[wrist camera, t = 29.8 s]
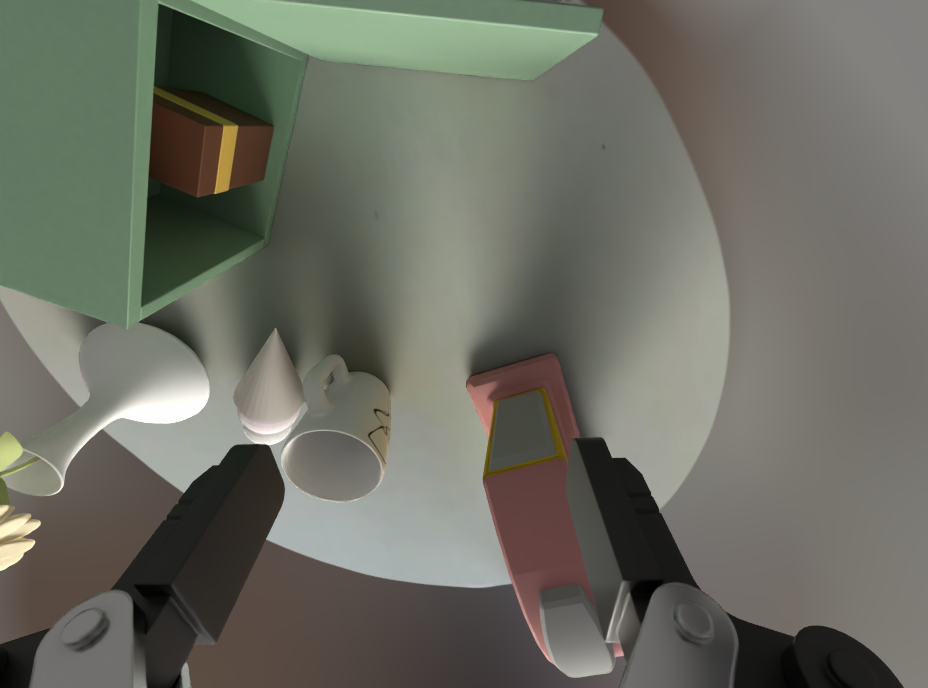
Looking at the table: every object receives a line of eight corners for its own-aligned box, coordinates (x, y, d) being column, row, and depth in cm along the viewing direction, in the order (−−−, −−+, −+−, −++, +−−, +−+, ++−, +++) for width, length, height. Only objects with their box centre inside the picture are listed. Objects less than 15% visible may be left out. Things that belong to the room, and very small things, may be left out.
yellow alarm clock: (592, 480, 47) (677, 718, 28) (517, 498, 48) (551, 734, 30) (547, 326, 37) (633, 535, 18) (455, 354, 38) (446, 574, 20)
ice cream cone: (255, 363, 29) (252, 471, 38) (329, 340, 33) (310, 442, 42) (217, 313, 31) (222, 427, 40) (291, 298, 35) (281, 403, 44)
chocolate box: (275, 125, 28) (207, 124, 21) (265, 181, 30) (198, 199, 22) (201, 90, 27) (101, 76, 20) (195, 150, 29) (101, 158, 21)
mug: (294, 343, 38) (243, 408, 29) (377, 327, 37) (350, 389, 28) (337, 431, 43) (304, 508, 34) (410, 419, 42) (396, 495, 34)
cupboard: (310, 48, 27) (142, -37, 13) (268, 245, 33) (127, 329, 19) (170, -25, 25) (-202, -216, 11) (155, 198, 31) (-90, 255, 18)
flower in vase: (184, 427, 43) (-108, 737, 21) (78, 362, 39) (-419, 663, 17) (249, 358, 39) (-35, 661, 17) (137, 277, 35) (-431, 537, 13)
